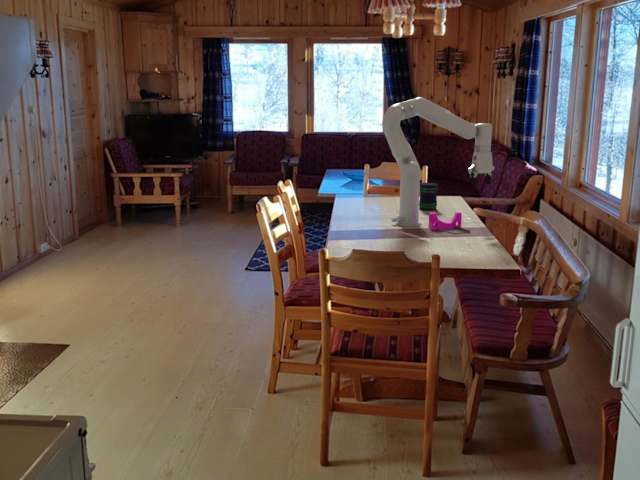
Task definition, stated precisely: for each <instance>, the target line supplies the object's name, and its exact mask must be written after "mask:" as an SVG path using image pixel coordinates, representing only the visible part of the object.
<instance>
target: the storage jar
mask: <svg viewBox="0 0 640 480" xmlns="http://www.w3.org/2000/svg"><path fill="white" fill-rule="evenodd" d="M438 186H439V185H438V183H435V182H420V187H419V210H421V211H425V212H426V211H427V212H435V211H437V206H438V204H437V203H438V200H437V199H438V198H437V196H438Z"/></svg>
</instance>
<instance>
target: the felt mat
mask: <svg viewBox="0 0 640 480" xmlns="http://www.w3.org/2000/svg"><path fill="white" fill-rule="evenodd" d="M440 231H442V232H445V233H449V234H450V233H451V234H454V235H457V234H464V233H467V232H465V231H461V230H457V229H445V230H440Z"/></svg>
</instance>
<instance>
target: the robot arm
mask: <svg viewBox="0 0 640 480" xmlns="http://www.w3.org/2000/svg"><path fill="white" fill-rule="evenodd" d="M416 116H418V117H420V118H422V119H424V120H426V121H428V122H431V123H432V124H434V125H435V126H437V127H440V128H442V129H445V130H447V131H450V132H452V133H454V134H455V135H457V136H459V137H461V138H463V139H466V140H471V139H473V138H474V140H475V141H474V148H473V150H474V152H473V154H472V158H471V159H472V161H471V166H470V167H467V171H468V174H469V176H470V186H474V187H476V186H477V180H478V177H477V176H478V174H485V175H484V184H485V185H491V181H492V179H491V178H492V175H493V174H494V171H495V167H496V166H494V165H493V153H492V151H491V150H492V148H491V147H492V135H493V132H492V131H493V125H492V124H491V123H487V122H486V123H485V122H484V123H483V122H480V123H473V122H470V121H467V120H466V119H464V118H462V117H460V116H458V115H456V114H454V113H452V112H451V111H450V110H449V109H446V108H444V107H442V106H440V105H438V104H437V103H434V102H433V101H430V100H428V99H427V98H424V97H422V96H418V97H415V98H412V99H408V100H406V101H402V102H397V103H394V104H392V105H390V106H389V107H388V109H387V110H386V111H385V113H384V115H383V117H382V123H381V124H382V132H383V134H384V136H385V139H386V141H387V143H388V146H389V148H390V150H391V154H392V156H393V157H394V159H395V161H396V164H397V165H398V168H399V170H400V174H399V175H400V177H399V179H400V181H399V182H400V183H399V210H398V212H399V214H398V215H397V217H392V218H390V219H391V222H392V223H395V224H396V225H397V226H398V225H399V226H403V227H416V226H421V225H422V222H421V221H420V220H419V212H420V211H419V210H420V209H419V200H420V183H421V166H420V164H419V162H418V160H417V157H416V155H415V153H414V151H413V149H412V147H411V145H410V143H409V142H408V141H407V139H406V137H405V135H404V131H403V130H402V127H401V121H403V120H406V119H407V120H408V119H410V118H414V117H416Z"/></svg>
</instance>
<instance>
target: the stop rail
mask: <svg viewBox="0 0 640 480" xmlns="http://www.w3.org/2000/svg"><path fill="white" fill-rule="evenodd" d="M454 229H457V230H461V231H465V232H466V233H468V234H470V233H471V229H468V228H463V227H461V228H460V227H454Z"/></svg>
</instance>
